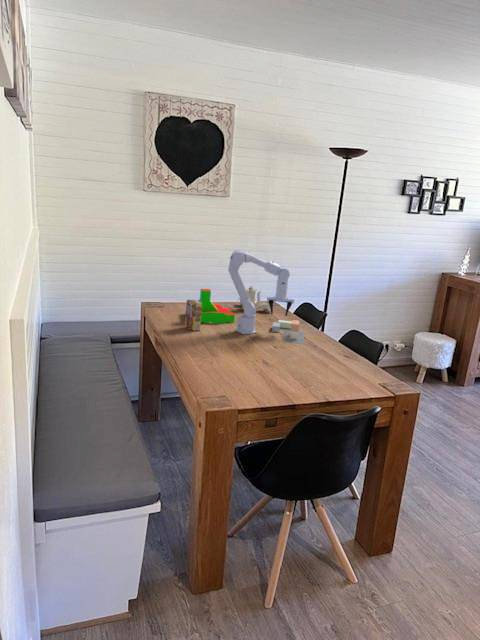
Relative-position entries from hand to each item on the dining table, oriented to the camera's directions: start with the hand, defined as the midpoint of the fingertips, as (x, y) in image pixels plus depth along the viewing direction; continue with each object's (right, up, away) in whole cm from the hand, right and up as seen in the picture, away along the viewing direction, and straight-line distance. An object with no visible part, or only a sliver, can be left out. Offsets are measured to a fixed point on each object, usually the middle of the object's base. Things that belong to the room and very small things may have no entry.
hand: (278, 314), depth 256 cm
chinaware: (-13, +4, +49) cm, 51 cm away
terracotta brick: (+8, -8, -4) cm, 12 cm away
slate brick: (-1, -9, +7) cm, 11 cm away
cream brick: (+8, -12, -3) cm, 14 cm away
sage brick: (+4, -8, +14) cm, 17 cm away
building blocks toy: (-38, -2, +20) cm, 43 cm away
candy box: (-46, -8, -2) cm, 47 cm away
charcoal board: (+8, -12, -3) cm, 15 cm away
